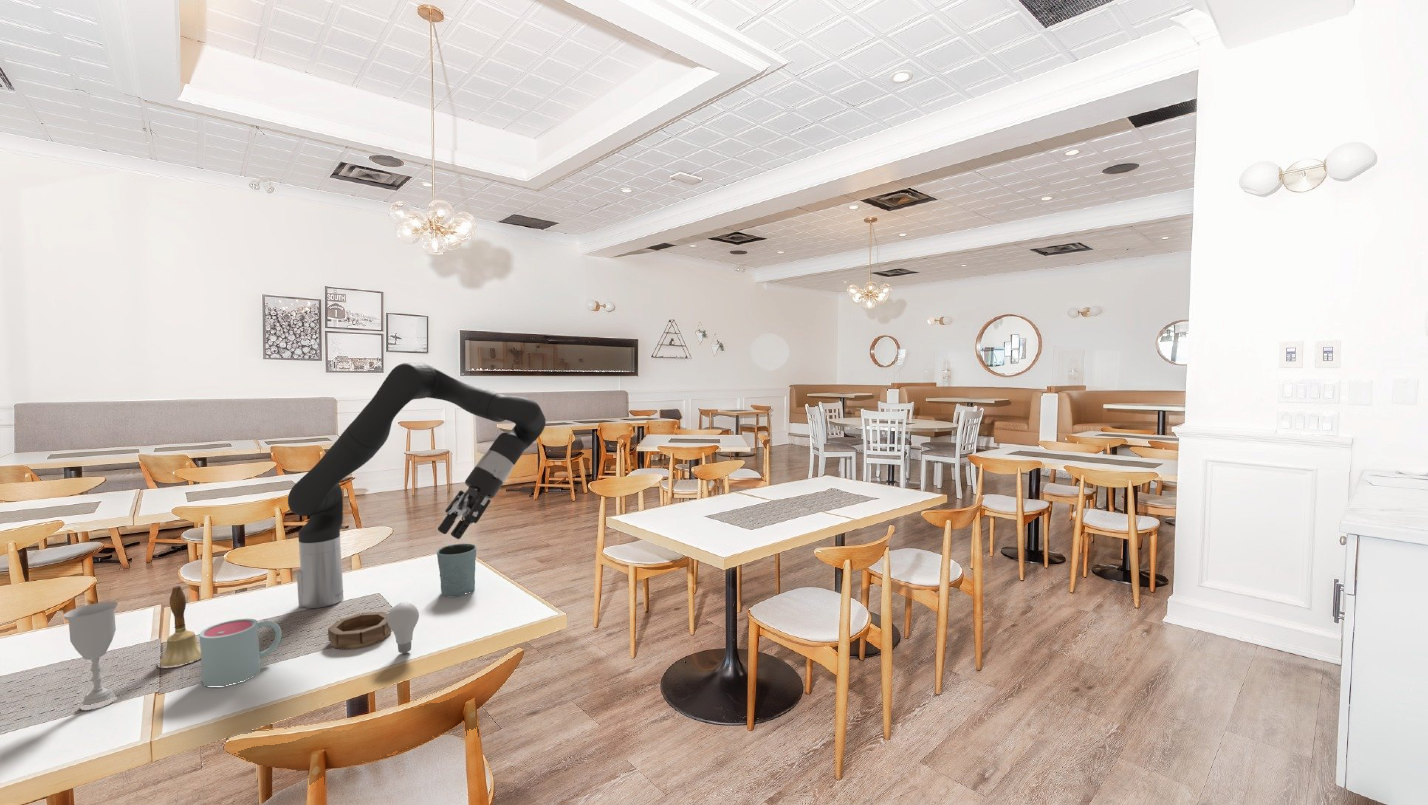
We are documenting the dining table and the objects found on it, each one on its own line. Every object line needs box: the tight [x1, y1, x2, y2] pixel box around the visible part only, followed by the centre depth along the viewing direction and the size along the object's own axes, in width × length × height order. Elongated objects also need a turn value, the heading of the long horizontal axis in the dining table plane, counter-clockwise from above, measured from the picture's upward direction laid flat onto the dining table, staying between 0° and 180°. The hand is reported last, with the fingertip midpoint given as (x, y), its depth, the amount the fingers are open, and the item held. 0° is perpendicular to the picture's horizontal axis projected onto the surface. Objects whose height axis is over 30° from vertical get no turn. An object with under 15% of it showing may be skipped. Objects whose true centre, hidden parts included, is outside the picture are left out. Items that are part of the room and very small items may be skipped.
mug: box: [199, 618, 283, 687], centre depth 126 cm, size 14×9×10 cm
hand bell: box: [159, 585, 201, 666], centre depth 131 cm, size 8×8×16 cm
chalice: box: [63, 601, 118, 705], centre depth 114 cm, size 7×7×18 cm
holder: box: [327, 611, 392, 651], centre depth 141 cm, size 12×12×4 cm
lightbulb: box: [387, 602, 420, 655], centre depth 132 cm, size 6×6×11 cm
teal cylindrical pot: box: [436, 543, 477, 597], centre depth 169 cm, size 10×10×12 cm
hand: (447, 534), depth 138 cm, fingers open, 8 cm apart
